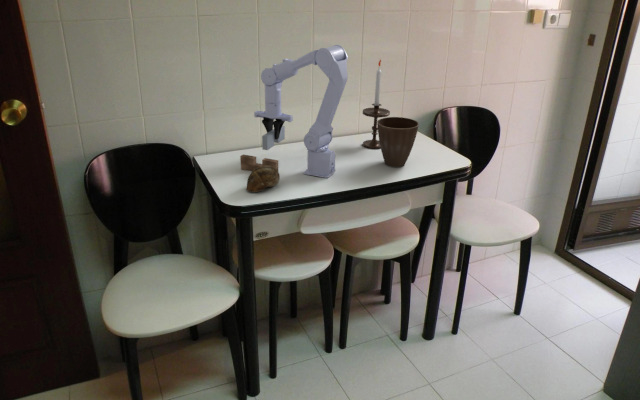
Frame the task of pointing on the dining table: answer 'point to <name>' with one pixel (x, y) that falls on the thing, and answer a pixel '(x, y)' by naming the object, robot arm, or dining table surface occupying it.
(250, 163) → the walnut slotted board
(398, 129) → the plant pot
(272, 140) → the grey slotted slat
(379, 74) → the candlestick
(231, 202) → the dining table surface
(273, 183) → the seashell
